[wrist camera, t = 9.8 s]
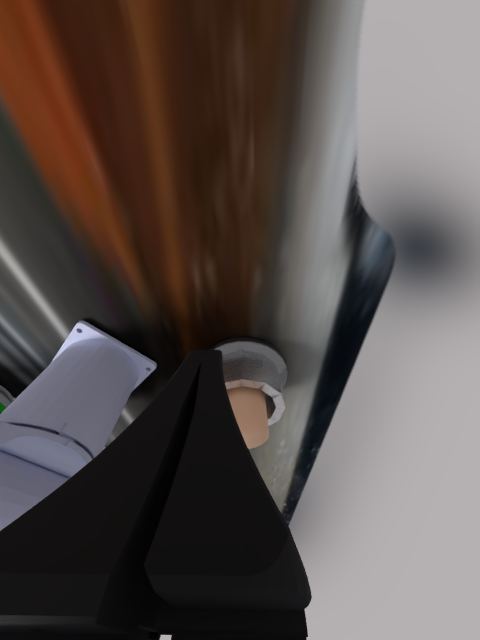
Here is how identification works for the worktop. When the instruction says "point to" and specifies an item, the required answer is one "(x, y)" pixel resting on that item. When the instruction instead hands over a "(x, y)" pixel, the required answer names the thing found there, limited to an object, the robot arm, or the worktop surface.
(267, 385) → the grey piece
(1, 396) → the soda can
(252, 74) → the worktop surface
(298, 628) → the robot arm
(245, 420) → the tan cylinder
